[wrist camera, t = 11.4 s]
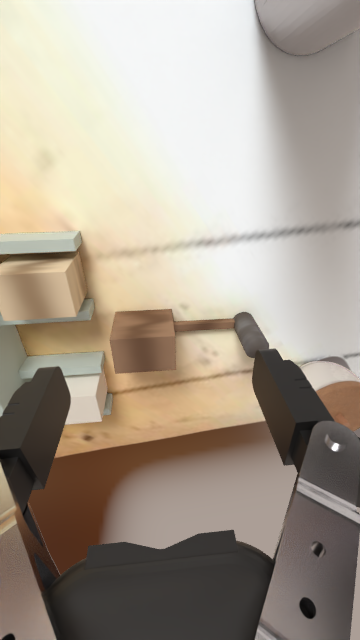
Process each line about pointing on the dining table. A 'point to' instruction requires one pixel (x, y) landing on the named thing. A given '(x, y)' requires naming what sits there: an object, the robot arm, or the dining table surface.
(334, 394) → the lidded jar
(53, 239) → the lane shelf
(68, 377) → the cream block
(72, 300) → the oak block
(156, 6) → the dining table surface
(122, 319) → the tow block
